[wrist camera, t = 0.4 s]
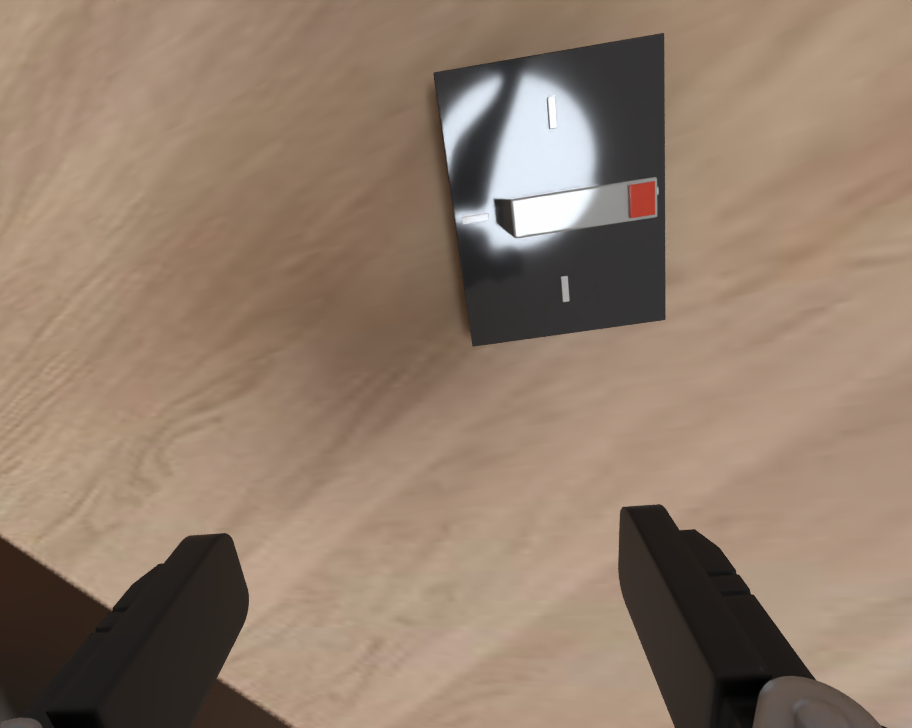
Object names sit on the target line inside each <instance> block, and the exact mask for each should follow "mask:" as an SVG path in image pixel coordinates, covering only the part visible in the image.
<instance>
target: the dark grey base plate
mask: <svg viewBox="0 0 912 728" xmlns="http://www.w3.org/2000/svg"><path fill="white" fill-rule="evenodd" d="M434 80H435V87H436V94H437V101H438V108H439V115H440V122H441V129H442V136H443V143H444V150H445V157H446V164H447V171H448V178H449V185H450V192H451V199H452V206H453V213H454V220H455V227H456V234H457V241H458V248H459V255H460V262H461V269H462V276H463V283H464V290H465V297H466V304H467V311H468V318H469V325H470V332H471V339H472V346H481V345H488V344H495V343H502V342H510V341H517V340H524V339H531V338H538V337H546V336H553V335H560V334H567V333H574V332H582V331H589V330H596V329H603V328H610V327H618V326H625V325H632V324H639V323H646V322H654V321H661V320H665V118H664V33H660V34H655V35H649V36H643V37H637V38H632V39H626V40H620V41H614V42H608V43H603V44H597V45H591V46H585V47H579V48H574V49H568V50H562V51H556V52H550V53H545V54H539V55H533V56H527V57H521V58H516V59H510V60H504V61H498V62H492V63H487V64H481V65H475V66H469V67H463V68H458V69H452V70H446V71H440V72H435V73H434ZM649 177H656V178H657V217H655V218H649V219H643V220H636V221H629V222H623V223H616V224H610V225H603V226H596V227H590V228H583V229H576V230H570V231H563V232H557V233H550V234H543V235H537V236H530V237H524V238H517V239H516V238H514V237H513V236H512V235H510V234H509V233H508V232H506V231H505V230H504V229H503V220H502V211H501V202H500V200H501V199H503V198H509V197H515V196H522V195H528V194H535V193H541V192H547V191H554V190H560V189H567V188H573V187H580V186H586V185H592V184H599V183H605V182H612V181H620V180H630V179H640V178H649Z"/></svg>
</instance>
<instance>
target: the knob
mask: <svg viewBox="0 0 912 728" xmlns="http://www.w3.org/2000/svg"><path fill="white" fill-rule="evenodd" d="M500 202H501V211H502V220H503V229H504V230H505V231H506V232H508V233H509V234H510V235H512V236H513V237H514V238H516V239H517V238H524V237H530V236H537V235H543V234H550V233H557V232H563V231H570V230H576V229H583V228H590V227H596V226H603V225H610V224H616V223H623V222H629V221H636V220H643V219H649V218H655V217H657V178H656V177H649V178H640V179H630V180H620V181H612V182H605V183H599V184H592V185H586V186H580V187H573V188H567V189H560V190H554V191H547V192H541V193H535V194H528V195H522V196H515V197H509V198H503V199H501V200H500Z"/></svg>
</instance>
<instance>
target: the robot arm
mask: <svg viewBox="0 0 912 728" xmlns="http://www.w3.org/2000/svg"><path fill="white" fill-rule="evenodd" d="M618 571H619V580H620V586H621V591H622V595H623V598H624V601H625V604H626V606H627V609H628V611H629V614H630V616H631V619H632V621H633V624H634V626H635V629H636V631H637V634H638V636H639V639H640V641H641V644H642V646H643V649H644V651H645V654H646V656H647V659H648V661H649V664H650V666H651V669H652V671H653V674H654V676H655V679H656V681H657V684H658V686H659V689H660V691H661V694H662V696H663V699H664V701H665V704H666V706H667V709H668V711H669V714H670V716H671V719H672V721H673V724H674V726H675V728H886V727H884V726H881V725H880V724H879V723H878V722H877V721H876V720H875V719H874V718H873V716H872V715H871V714H870V713H869V712H867V711H866V710H865V709H864V708H863V707H862V706H861V705H860V704H858V703H857V702H855V701H854V700H853V699H851V698H850V697H849V696H847V695H845V694H844V693H842V692H840V691H839V690H837V689H835V688H833V687H831V686H829V685H827V684H824V683H822V682H819V681H817V680H816V679H815V678H814V677H813V675H812V674H811V673H810V672H809V670H808V669H807V667H806V666H805V665H804V663H803V662H802V661H801V659H800V658H799V656H798V655H797V654H796V652H795V651H794V650H793V648H792V647H791V645H790V644H789V643H788V641H787V640H786V639H785V637H784V636H783V634H782V633H781V632H780V630H779V629H778V628H777V626H776V625H775V623H774V622H773V621H772V619H771V618H770V617H769V615H768V614H767V612H766V611H765V610H764V608H763V607H762V606H761V604H760V603H759V601H758V600H757V599H756V597H755V596H754V595H751V593H750V589H749V588H748V586H747V585H746V584H745V582H744V581H743V579H742V578H741V577H740V575H737V574H736V570H735V568H734V567H733V566H732V564H731V563H730V562H729V560H728V559H727V557H726V556H725V555H724V553H723V552H722V551H721V549H720V548H719V547H718V546H716V545H715V544H714V543H712V542H711V541H710V540H708V539H707V538H706V537H704V536H703V535H702V534H700V533H699V532H697V531H696V530H695V529H693V530H679V529H678V527H677V526H676V524H675V523H674V521H673V520H672V518H671V516H670V515H669V513H668V512H667V510H666V509H665V508H664V506H662V505H660V504H658V505H644V506H629V507H622V509H621V511H620V528H619V562H618ZM248 606H249V594H248V589H247V585H246V582H245V579H244V575H243V572H242V569H241V565H240V562H239V559H238V556H237V552H236V549H235V546H234V542H233V540H232V538H231V537H230V535H228V534H226V533H222V534H207V535H193V536H188V537H186V538H185V539H183V540H182V541H181V543H180V544H179V545H178V546H177V548H176V549H175V550H174V551H173V553H172V554H171V555H170V556H169V558H168V559H167V560H166V561H165V563H164V564H158V565H157V566H156V567H154V568H153V569H152V570H150V571H149V572H148V573H147V574H145V575H144V576H143V577H141V578H140V579H139V580H138V581H136V582H135V583H134V584H132V585H131V587H130V588H129V589H128V590H127V591H126V593H125V594H124V595H123V596H122V597H121V599H120V600H119V601H118V602H117V603H116V605H115V606H114V607H113V611H112V613H108V614H107V615H106V617H105V618H104V619H103V620H102V621H101V622H100V624H99V625H98V626H97V627H96V632H95V633H91V634H90V636H89V637H88V638H87V639H86V640H85V642H84V643H83V644H82V645H81V646H80V648H79V649H78V650H77V651H76V652H75V654H74V655H73V656H72V657H71V658H70V660H69V661H68V662H67V663H66V664H65V665H64V667H63V668H62V669H61V670H60V671H59V673H58V674H57V675H56V676H55V677H54V679H53V680H52V681H51V682H50V683H49V685H48V686H47V687H46V688H45V689H44V691H43V692H42V693H41V694H40V695H39V696H38V698H37V699H36V700H35V701H34V702H33V704H32V705H31V706H30V707H29V709H28V710H27V711H26V712H25V713H24V714H23V716H22V717H21V718H16V719H12V720H7V721H5V722H2V723H0V728H192V726H193V724H194V722H195V720H196V718H197V716H198V714H199V712H200V710H201V708H202V706H203V704H204V702H205V700H206V698H207V696H208V694H209V692H210V690H211V689H212V687H213V685H214V682H215V681H216V679H217V677H218V675H219V673H220V671H221V669H222V667H223V665H224V663H225V661H226V659H227V657H228V655H229V653H230V651H231V649H232V647H233V645H234V643H235V641H236V639H237V637H238V635H239V633H240V631H241V629H242V627H243V625H244V622H245V620H246V616H247V612H248Z"/></svg>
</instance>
